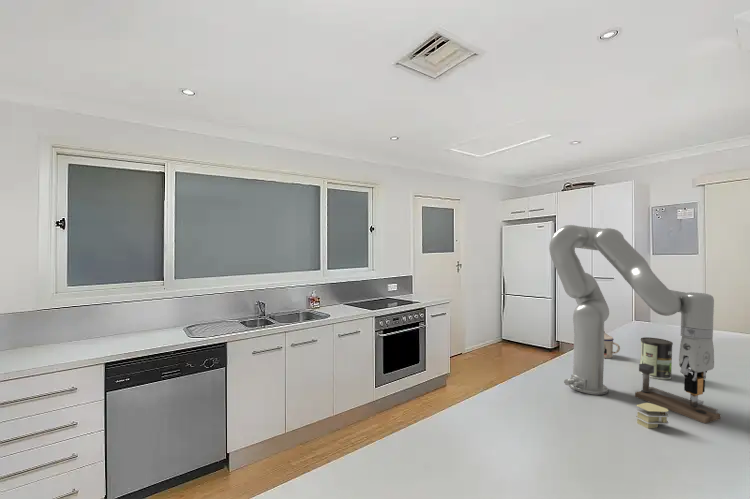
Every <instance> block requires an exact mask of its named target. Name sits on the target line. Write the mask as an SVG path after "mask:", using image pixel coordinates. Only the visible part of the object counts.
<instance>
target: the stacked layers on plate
mask: <svg viewBox="0 0 750 499" xmlns="http://www.w3.org/2000/svg"><path fill="white" fill-rule="evenodd" d="M636 407H639V408H637V409H635V411H636V412H637V415H636V416H635V418H636V420H637V421H636V423H637V424H638V425H640V426H642V427H644V428H646V429H655V427H656V428H658V426H659V425H668V424H669V422H668V417H669V414H668V413H667V412H669V409H666V408H664V407H661V406H658V405H656V404H653V403H650V402H643V403H639V404H636Z"/></svg>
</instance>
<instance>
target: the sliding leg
mask: <svg viewBox="0 0 750 499" xmlns="http://www.w3.org/2000/svg"><path fill="white" fill-rule="evenodd" d="M696 381H698V389H697V394H693V393H690V392H687V391H685V392H686V393H688V394H689V400H690V406H691V407H692V408H696V407H698V405H701V404H703V405H704V400H701V399H699V396H701V395H703V394H704V392H703V378H701V377H698V376H697V377H696Z"/></svg>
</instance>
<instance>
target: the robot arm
mask: <svg viewBox="0 0 750 499" xmlns="http://www.w3.org/2000/svg"><path fill="white" fill-rule="evenodd" d="M575 249H584V250H590V251H591V250H592V251H598V252H600V254H601V255H602V256H603V257H604V259H606V260H607V261H608V263H610V264H611V265H612V266H613V268H615V269H616V271H617V272H618V273H619V274H620V275H621V277H623V279H624V280H625V281H626V283H627V284H629V285H630V286H629V287H631V288H632V289H633V291H634V292H635V293H636V294H637V295H638V297H640V299H642V301H643V302H644V303H646V305H647V306H648V307H649V308H650V309H651V310H652V311H653V312H655V313H656V314H658V315H660V316H666V317H667V316H673V315H676V314H677V313H680V336H681V339H680V347H679V352H678V353H679V354H678V364H679V365H678V366H679V367H680V370H679V371H680V373H681V374H683V379H684V387H683V390H684V391H685V392H686V391H687V392H686V393H688V392H690V393H693V394H697V389H698V381H696V377H697V376H698V377H701V378H703V393H705V389H706V387H705V386H706V379H707V373H708V371H711V370H713V369H714V368H715V351H714V348H715V347H714V342H713V338H714V337H713V336H714V335H713V334H714V312H715V309H714V307H715V299H714V296H713V295H711V294H708V293H704V292H703V293H702V292H692V291H691V292H685V291H678V290H674V289H669V288H668V287H667V286H666V285H665V284H664V282H663V281H661V279H659V277H657V275H656V274H655V273H654V272H653V270H652V269H651V267H650V265H649V263H648V261H647V260H646V259H645V257H644V256H642V255H641V254H640V253H639V252H638V251H637V250H636V249H635V248H634V247H633V246H632V245H631V244H630V243H629V242H628V241H627V240H626V239H625V237H624V235H623V233H622V231H619V230H618V229H615V228H611V227H610V228H608V227H606V228H601V227H598V228H597V227H590V226H580V225H574V224H568V225H564V226H562V227H560V228H558V229H557V230H556V231H555V232H554V234H553V235H552V237H551V238H550V241H549V255H550V258H551V260H552V262H553V266H554V267H555V270H556V272H557V275H558V277H559V280H560V281H561V284H562V287H563V289H564V292H565V293H566V294H567V296H568V297H570V298H572V299H575V301H576V304H577V306H576V307H575V309H574V311H573V315H572V316H573V317H572V320H573V322H572V323H573V359H572V360H573V362H572V363H573V366H572V374H570V375H571V377H570V378H567V379H564V381H563V383H564V385H566V386H568V387H569V388H571V389H572V390H574V391H577V392H579V393H583V394H588V395H595V396H601V395H602V396H603V395H606V394H608V392H609V388H608V387H607V385H605V384H604V365H605V363H604V361H605V358H604V331H605V323H606V321H607V320H608V318H609V316H610V308H609V306H608V304H607V300H606V299H605V297H604V294H603V292H602V290H601V288H600V286H599V283H598V282H597V280H596V279H595V277H594V276H593V275H591V274H590V273H588V272H585V270H584V267H583V266H582V263H581V261H580V259H579V256H578V255H577V253H576V250H575ZM690 393H689V394H690Z"/></svg>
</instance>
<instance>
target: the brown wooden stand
mask: <svg viewBox="0 0 750 499" xmlns="http://www.w3.org/2000/svg"><path fill="white" fill-rule="evenodd" d="M638 372H639V373H640V372H643V375H642V388H641V390H640V391H635V392H634V397H635V398H637V397H638V398H637V399H640V400H642V399H643V401H646V402H647V403H651V404H655V405H658V406H661V407H664V408H666V409H668V411H672V412H674V413H677V414H680V415H683V416H685V417H687V418H690V419H692V420H696V421H697V422H700V423H703V424H709V423H712V422H715V421H718V420H721V413H719V411H718V409H717V408H715V407H712V406H708V405H706V404H704V403H703V404H701V405H698V407H696V408H692V407H691V406H690V398H689V399H688V398H685V397H683V396H679V395H677V394H674V393H671V392H668V391H665V390H662V389H660V388H658V387H657V388H656V387H653V386H650V377H649V374H651V373H654V366H652V365H649V364H645V363H644V364H640V363H639V364H638Z"/></svg>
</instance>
